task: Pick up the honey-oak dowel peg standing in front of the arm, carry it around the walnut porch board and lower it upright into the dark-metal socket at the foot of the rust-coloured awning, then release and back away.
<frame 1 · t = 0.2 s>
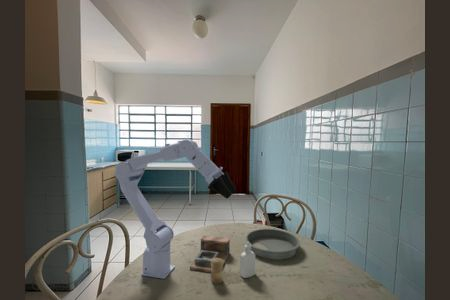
hand: (232, 194, 73), 31 cm above the table, tool tilted 45°, fingers open, 7 cm apart
peg: (216, 280, 74), on the table
porch: (211, 260, 87), on the table
cake pan: (271, 248, 99), on the table
eye dropper bottle: (247, 275, 78), on the table
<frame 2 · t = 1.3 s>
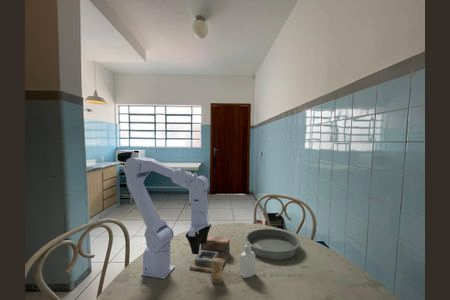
hand: (199, 248, 76), 10 cm above the table, tool pointing down, fingers open, 7 cm apart
nothing on the table moved.
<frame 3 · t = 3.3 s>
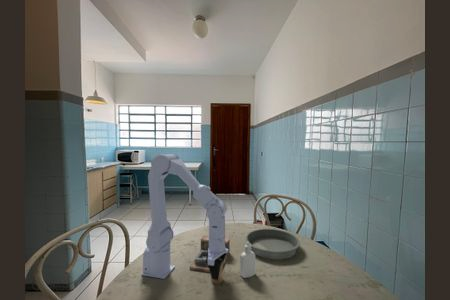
hand: (216, 275, 74), 2 cm above the table, tool pointing down, fingers closed on peg, 4 cm apart
peg: (216, 280, 74), on the table, touching gripper
everything else where it was.
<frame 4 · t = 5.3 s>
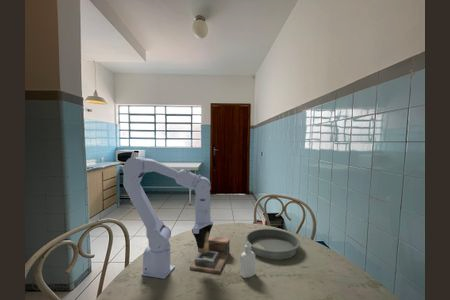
hand: (202, 245, 80), 9 cm above the table, tool pointing down, fingers closed on peg, 4 cm apart
peg: (203, 250, 80), point 7 cm above the table, touching gripper
everything else where it was.
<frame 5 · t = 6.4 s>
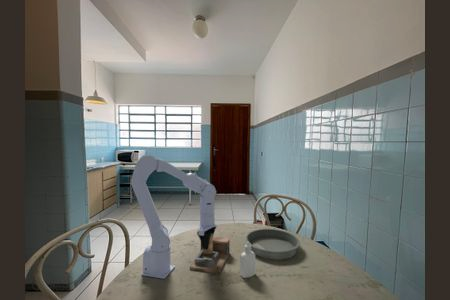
hand: (207, 246, 85), 7 cm above the table, tool pointing down, fingers closed on peg, 4 cm apart
peg: (207, 251, 85), point 5 cm above the table, touching gripper
everything else where it was.
when the fingers open (4 cm above the table, at t = 7.4 s): peg stays where it is, resting on porch.
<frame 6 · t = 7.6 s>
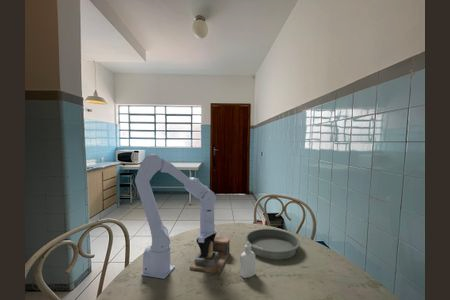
hand: (207, 252, 85), 4 cm above the table, tool pointing down, fingers open, 5 cm apart
peg: (207, 260, 85), point 1 cm above the table, touching porch
everything else where it was.
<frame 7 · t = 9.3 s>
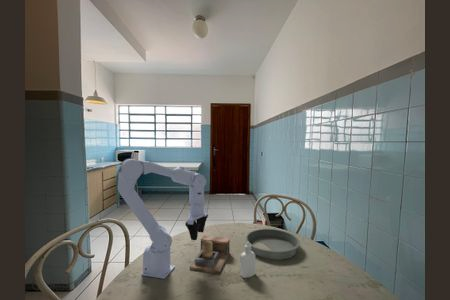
hand: (197, 235, 87), 10 cm above the table, tool pointing down, fingers open, 7 cm apart
nothing on the table moved.
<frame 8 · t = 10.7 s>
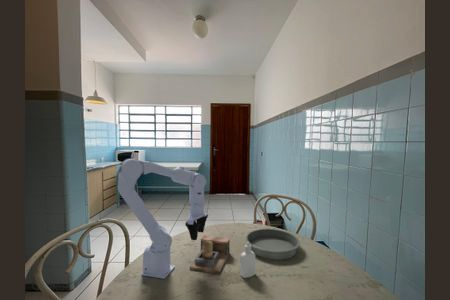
hand: (197, 235, 87), 10 cm above the table, tool pointing down, fingers open, 7 cm apart
nothing on the table moved.
at the end: peg 0.1 cm from the target spot on the porch, point 1.1 cm above the porch's base; peg tilted 0°; the gripper is holding nothing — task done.
